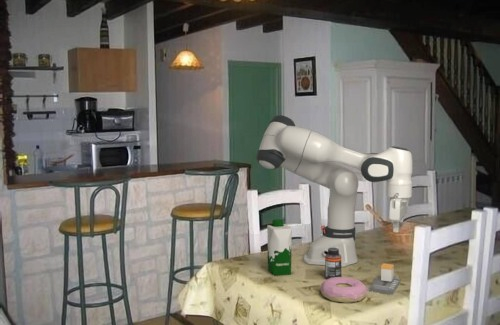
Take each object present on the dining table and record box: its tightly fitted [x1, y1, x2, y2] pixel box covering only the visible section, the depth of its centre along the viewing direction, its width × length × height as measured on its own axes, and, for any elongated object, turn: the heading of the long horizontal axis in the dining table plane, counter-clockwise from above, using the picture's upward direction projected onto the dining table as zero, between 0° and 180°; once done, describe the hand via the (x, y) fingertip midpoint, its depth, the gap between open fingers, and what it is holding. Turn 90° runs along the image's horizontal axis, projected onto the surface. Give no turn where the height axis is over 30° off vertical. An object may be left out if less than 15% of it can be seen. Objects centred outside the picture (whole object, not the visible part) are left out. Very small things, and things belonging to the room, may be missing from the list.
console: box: [368, 274, 401, 295], centre depth 179 cm, size 14×8×2 cm, turn 153°
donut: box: [320, 276, 368, 304], centre depth 170 cm, size 16×15×5 cm
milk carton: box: [266, 218, 293, 277], centre depth 195 cm, size 9×9×20 cm
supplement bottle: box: [324, 248, 342, 280], centre depth 188 cm, size 6×6×11 cm
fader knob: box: [380, 262, 395, 282], centre depth 182 cm, size 4×4×5 cm
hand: (398, 229), depth 184 cm, fingers open, 8 cm apart
